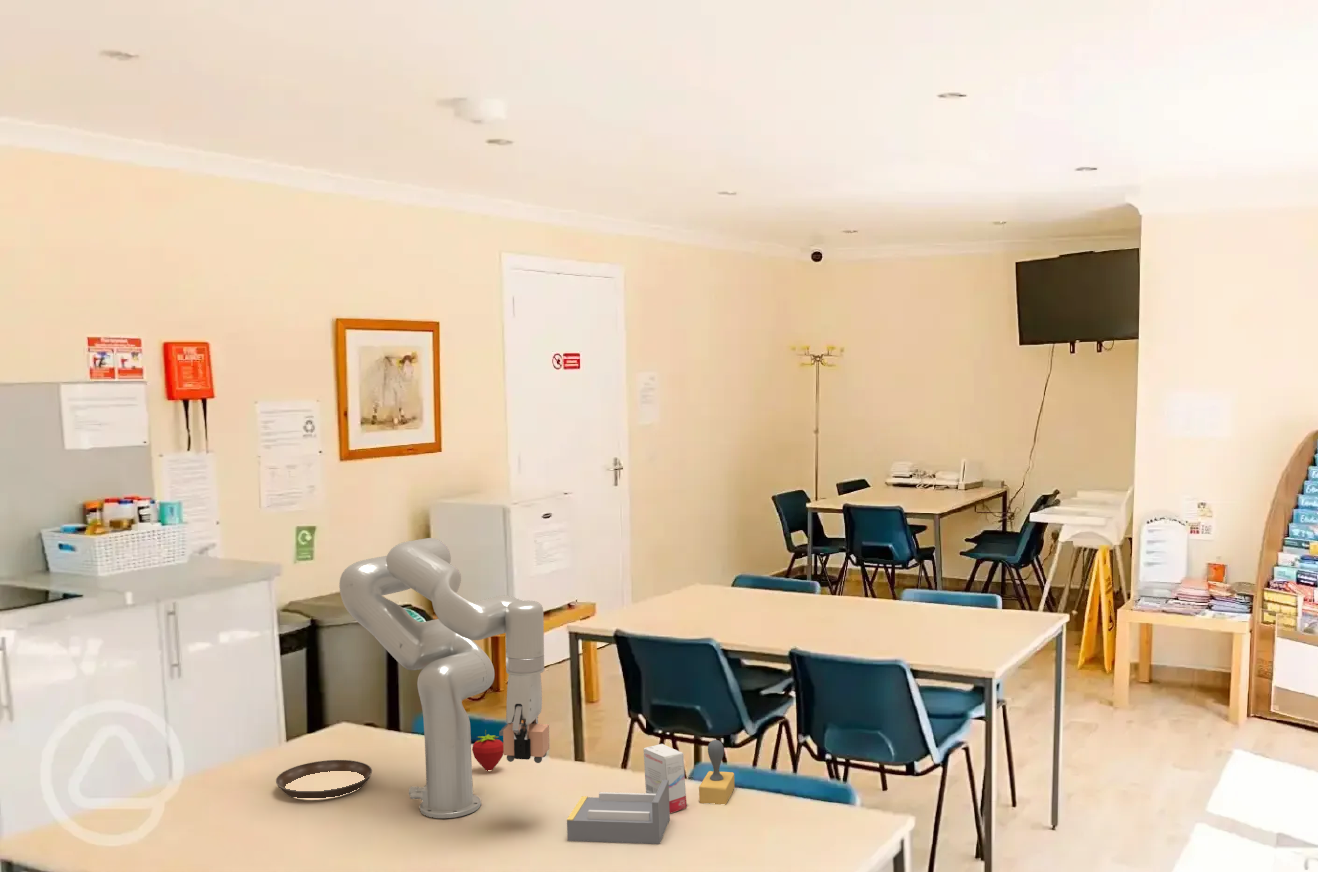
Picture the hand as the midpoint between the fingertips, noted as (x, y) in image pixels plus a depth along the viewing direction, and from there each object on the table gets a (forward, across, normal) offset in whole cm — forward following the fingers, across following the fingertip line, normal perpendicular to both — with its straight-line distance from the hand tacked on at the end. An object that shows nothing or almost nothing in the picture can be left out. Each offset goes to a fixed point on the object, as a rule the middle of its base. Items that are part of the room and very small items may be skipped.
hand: (526, 753), depth 226 cm
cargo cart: (+1, 0, 0) cm, 1 cm away
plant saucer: (+17, -18, -52) cm, 58 cm away
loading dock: (+14, 0, +19) cm, 24 cm away
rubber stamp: (+15, -20, +36) cm, 44 cm away
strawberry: (+16, -31, -18) cm, 39 cm away
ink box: (+15, -13, +26) cm, 32 cm away
